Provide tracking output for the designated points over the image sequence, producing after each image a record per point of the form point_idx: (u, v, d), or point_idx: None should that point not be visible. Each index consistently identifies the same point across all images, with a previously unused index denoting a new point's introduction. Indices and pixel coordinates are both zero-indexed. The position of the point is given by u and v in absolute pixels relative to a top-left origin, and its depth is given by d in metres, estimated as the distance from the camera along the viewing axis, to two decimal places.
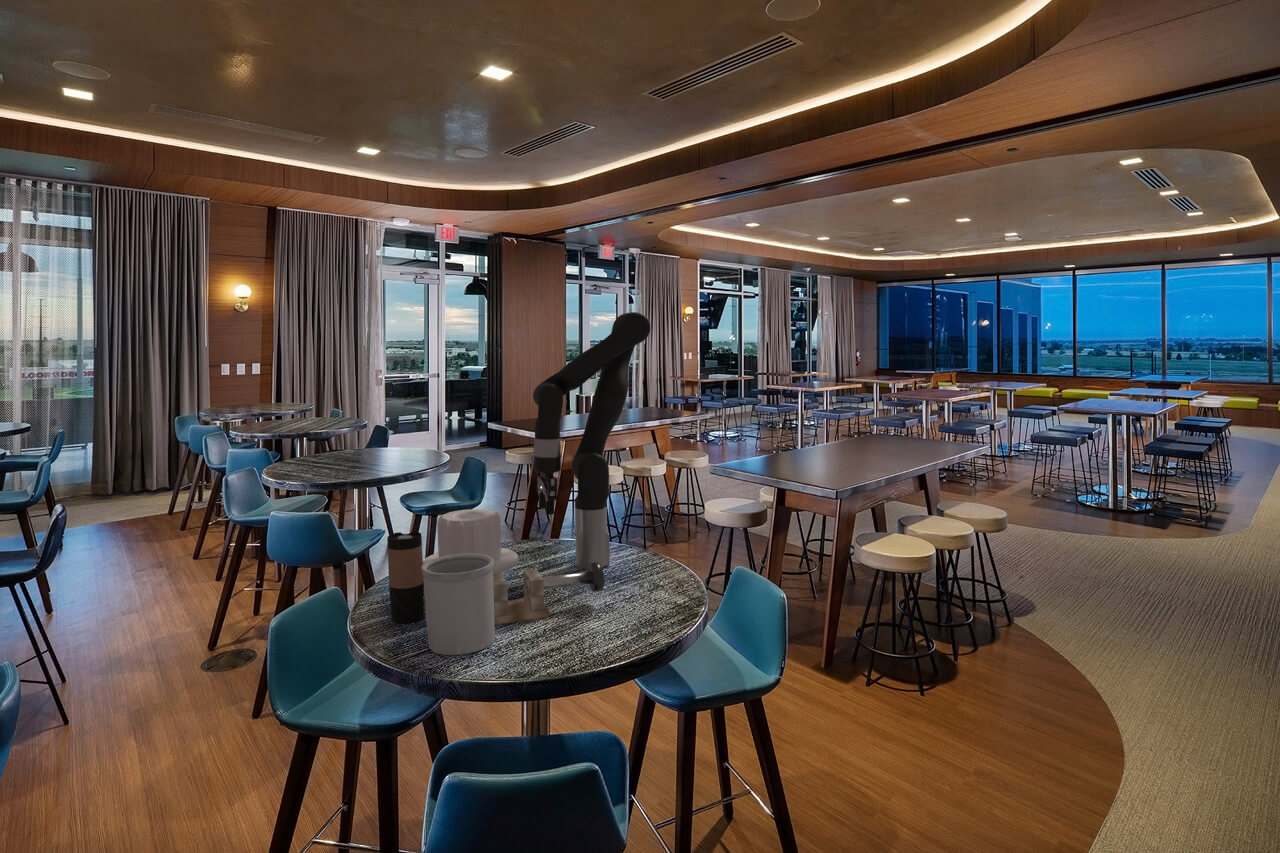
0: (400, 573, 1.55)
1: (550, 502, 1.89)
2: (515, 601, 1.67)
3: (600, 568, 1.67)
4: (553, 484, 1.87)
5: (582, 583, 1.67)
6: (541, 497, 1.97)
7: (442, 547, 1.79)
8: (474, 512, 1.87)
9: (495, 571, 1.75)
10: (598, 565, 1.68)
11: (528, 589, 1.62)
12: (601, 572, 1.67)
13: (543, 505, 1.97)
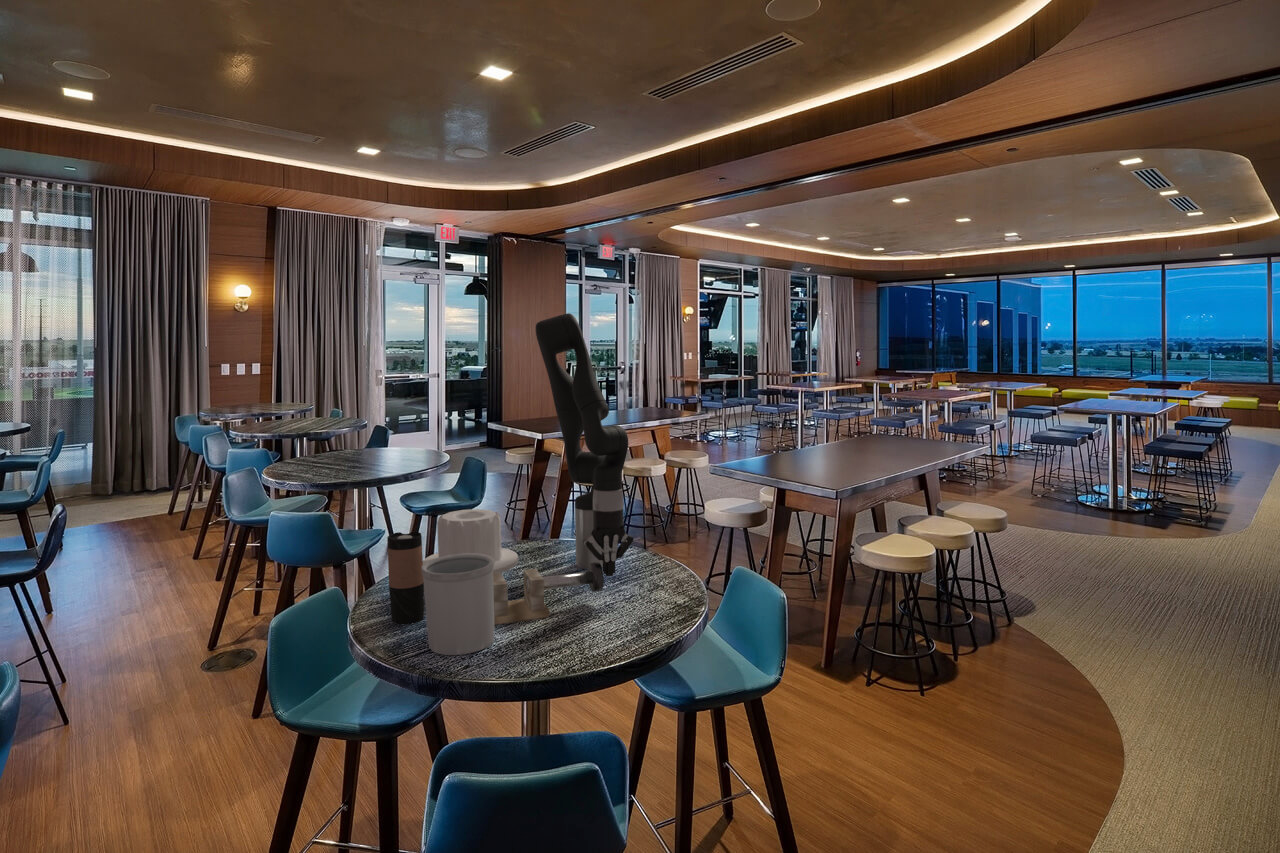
0: (400, 573, 1.55)
1: None
2: (515, 601, 1.67)
3: (600, 568, 1.67)
4: None
5: (582, 583, 1.67)
6: None
7: (442, 547, 1.79)
8: (474, 512, 1.87)
9: (495, 571, 1.75)
10: (598, 565, 1.68)
11: (528, 589, 1.62)
12: (601, 572, 1.66)
13: None
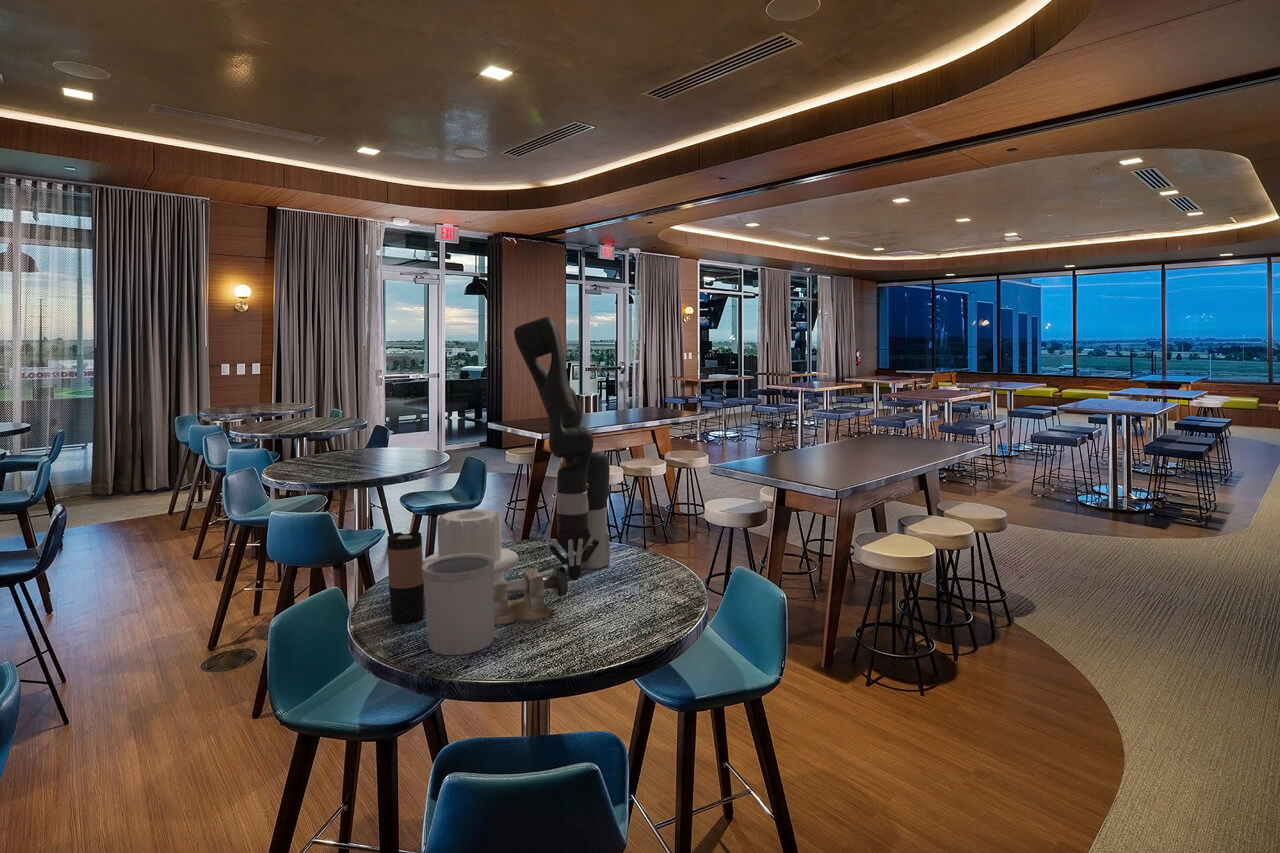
0: (400, 573, 1.55)
1: None
2: (515, 601, 1.67)
3: (564, 572, 1.64)
4: None
5: (546, 588, 1.64)
6: None
7: (442, 547, 1.79)
8: (474, 512, 1.87)
9: (495, 571, 1.75)
10: (562, 569, 1.65)
11: None
12: (565, 577, 1.63)
13: None
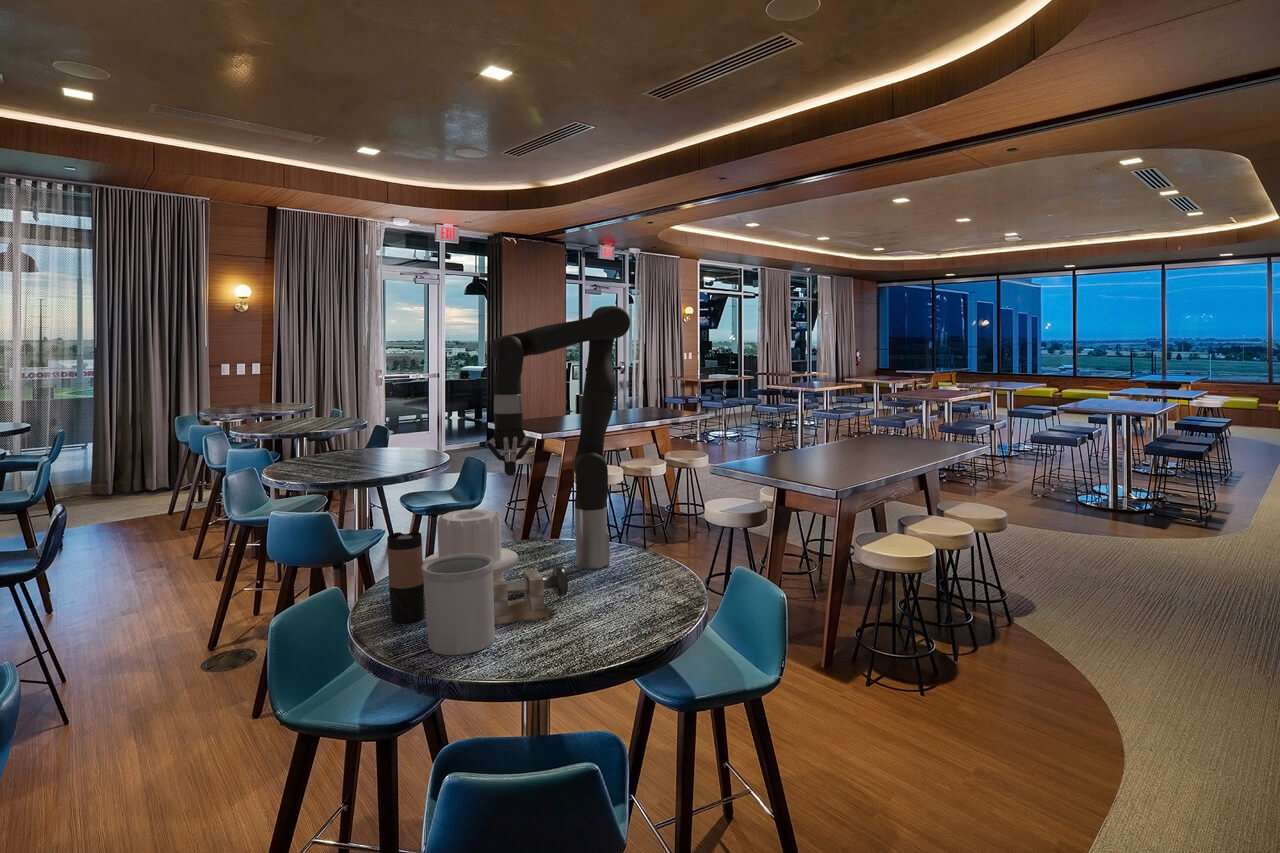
0: (400, 573, 1.55)
1: None
2: (515, 601, 1.67)
3: (564, 572, 1.64)
4: None
5: (546, 588, 1.64)
6: None
7: (442, 547, 1.79)
8: (474, 512, 1.87)
9: (495, 571, 1.75)
10: (562, 569, 1.65)
11: None
12: (565, 576, 1.63)
13: None
